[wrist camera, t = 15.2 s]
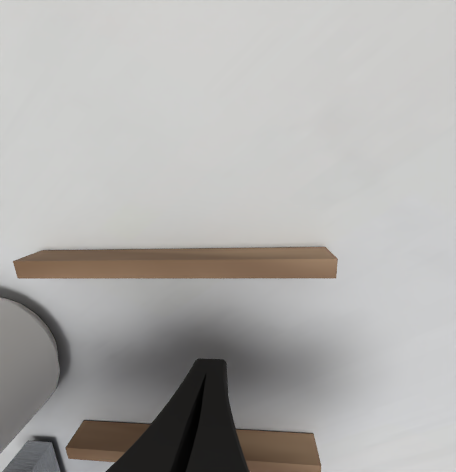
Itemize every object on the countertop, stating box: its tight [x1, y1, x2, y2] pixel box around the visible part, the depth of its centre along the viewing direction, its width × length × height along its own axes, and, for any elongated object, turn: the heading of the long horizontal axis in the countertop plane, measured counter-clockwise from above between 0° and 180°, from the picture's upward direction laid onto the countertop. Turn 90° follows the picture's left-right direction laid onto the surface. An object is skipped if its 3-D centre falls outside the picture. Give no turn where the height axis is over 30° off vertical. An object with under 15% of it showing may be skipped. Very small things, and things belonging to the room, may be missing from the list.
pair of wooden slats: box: [13, 247, 338, 472], centre depth 12 cm, size 12×14×2 cm
